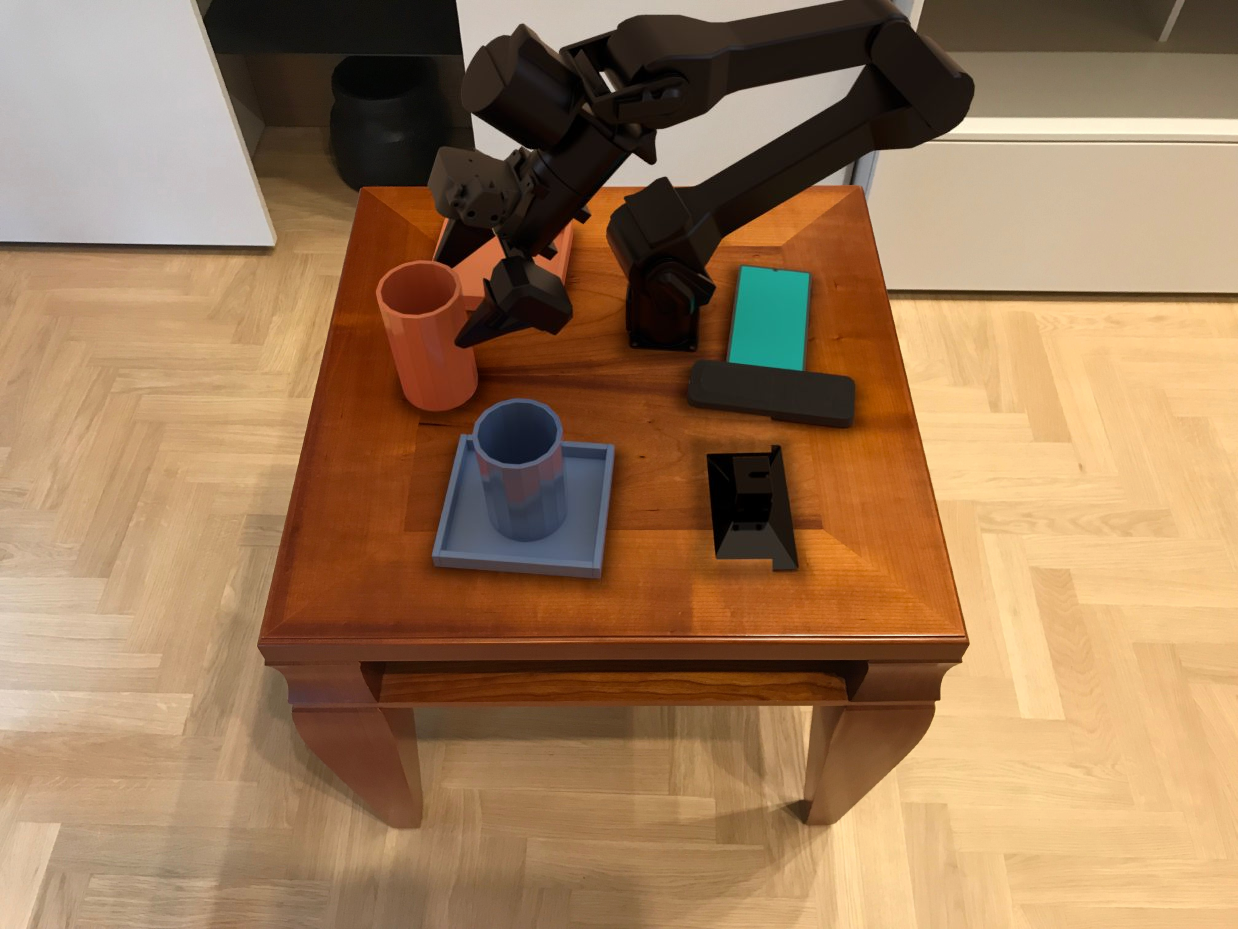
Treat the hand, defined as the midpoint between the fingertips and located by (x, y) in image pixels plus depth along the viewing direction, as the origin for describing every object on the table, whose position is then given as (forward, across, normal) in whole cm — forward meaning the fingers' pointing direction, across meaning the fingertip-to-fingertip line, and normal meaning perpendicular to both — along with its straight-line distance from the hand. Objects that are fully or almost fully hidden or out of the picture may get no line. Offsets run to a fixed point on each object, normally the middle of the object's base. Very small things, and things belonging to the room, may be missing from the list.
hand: (446, 308), depth 80 cm
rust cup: (+8, 0, +5) cm, 9 cm away
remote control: (-12, +11, +25) cm, 30 cm away
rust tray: (+1, -13, +12) cm, 18 cm away
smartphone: (-14, +3, +27) cm, 31 cm away
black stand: (-7, +21, +20) cm, 30 cm away
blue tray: (+5, +16, +8) cm, 19 cm away
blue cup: (+5, +16, +8) cm, 18 cm away
